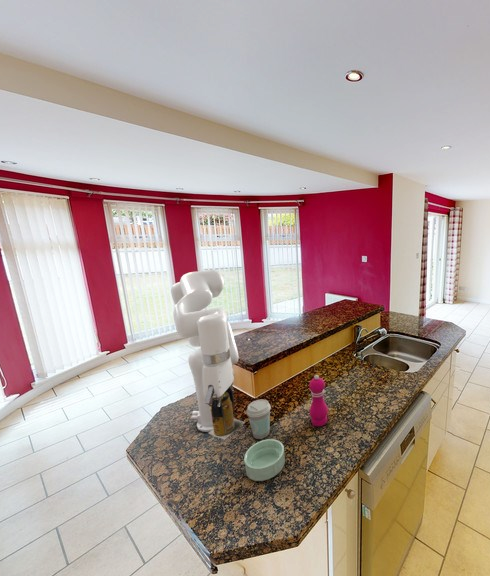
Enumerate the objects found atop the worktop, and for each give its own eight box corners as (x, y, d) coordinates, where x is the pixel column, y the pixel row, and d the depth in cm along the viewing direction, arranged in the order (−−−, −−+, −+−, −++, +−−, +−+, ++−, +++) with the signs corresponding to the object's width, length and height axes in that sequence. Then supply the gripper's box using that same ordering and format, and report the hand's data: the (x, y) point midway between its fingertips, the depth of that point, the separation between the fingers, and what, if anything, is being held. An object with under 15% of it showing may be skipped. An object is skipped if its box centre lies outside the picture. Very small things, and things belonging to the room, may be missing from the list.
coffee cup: (249, 429, 109) (245, 401, 106) (272, 423, 111) (269, 396, 109) (249, 444, 101) (245, 414, 98) (274, 437, 104) (271, 408, 101)
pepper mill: (325, 428, 108) (322, 380, 104) (307, 426, 109) (304, 379, 105) (330, 416, 115) (328, 371, 111) (313, 414, 116) (310, 370, 112)
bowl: (239, 482, 85) (237, 468, 84) (254, 451, 97) (253, 439, 96) (278, 482, 85) (277, 468, 84) (289, 451, 97) (288, 439, 96)
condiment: (207, 433, 87) (202, 399, 85) (229, 417, 95) (225, 385, 92) (224, 440, 84) (219, 404, 82) (245, 422, 92) (241, 389, 89)
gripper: (218, 344, 92) (225, 393, 96) (186, 370, 75) (196, 429, 79) (241, 344, 92) (247, 393, 95) (213, 369, 75) (222, 429, 79)
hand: (223, 409), depth 87 cm, fingers closed on condiment, 6 cm apart
